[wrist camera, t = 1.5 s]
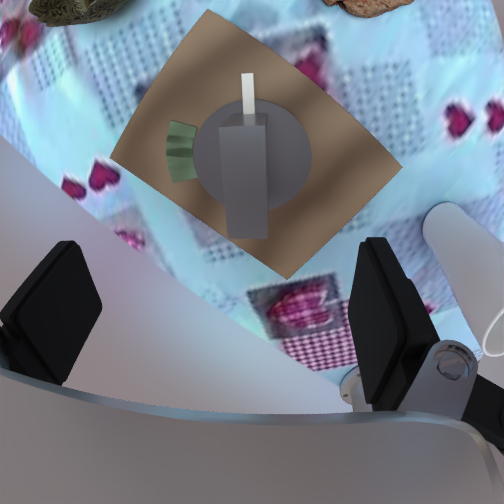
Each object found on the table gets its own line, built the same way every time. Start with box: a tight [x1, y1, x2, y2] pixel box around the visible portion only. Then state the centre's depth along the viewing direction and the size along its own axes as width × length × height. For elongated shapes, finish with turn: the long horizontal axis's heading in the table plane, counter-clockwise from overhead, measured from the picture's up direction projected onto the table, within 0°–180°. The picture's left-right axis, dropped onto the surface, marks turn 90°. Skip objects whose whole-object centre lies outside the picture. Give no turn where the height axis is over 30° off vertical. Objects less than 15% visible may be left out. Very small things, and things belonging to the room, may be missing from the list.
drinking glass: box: [422, 202, 504, 357], centre depth 21 cm, size 7×7×15 cm
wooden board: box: [110, 9, 403, 280], centre depth 25 cm, size 20×15×2 cm
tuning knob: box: [193, 73, 312, 239], centre depth 20 cm, size 11×9×7 cm
